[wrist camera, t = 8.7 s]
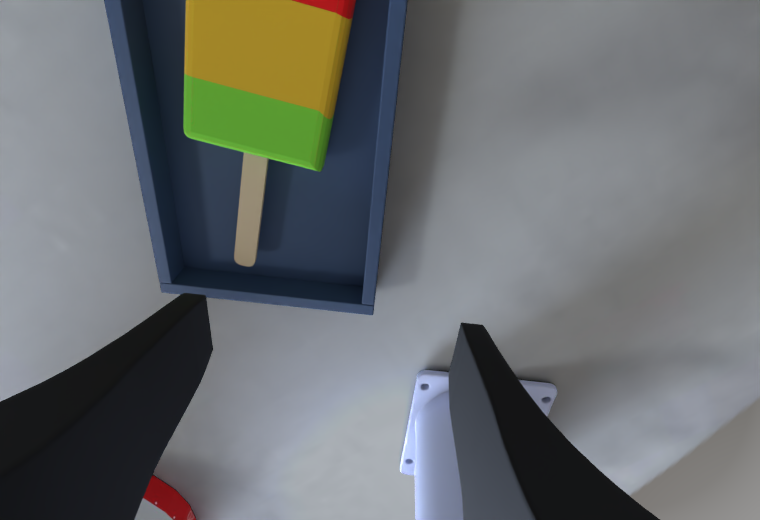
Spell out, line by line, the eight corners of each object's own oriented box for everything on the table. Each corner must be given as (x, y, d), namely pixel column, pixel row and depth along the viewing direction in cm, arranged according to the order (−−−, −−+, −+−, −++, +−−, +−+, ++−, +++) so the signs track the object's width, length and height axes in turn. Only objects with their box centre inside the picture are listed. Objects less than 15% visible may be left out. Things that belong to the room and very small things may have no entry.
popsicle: (379, -110, 15) (375, -120, 13) (306, 267, 23) (297, 290, 21) (207, -164, 14) (181, -180, 13) (193, 240, 22) (176, 261, 21)
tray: (375, 291, 24) (373, 315, 22) (178, 270, 24) (161, 293, 22) (427, -187, 14) (430, -210, 12) (96, -225, 14) (54, -251, 12)
